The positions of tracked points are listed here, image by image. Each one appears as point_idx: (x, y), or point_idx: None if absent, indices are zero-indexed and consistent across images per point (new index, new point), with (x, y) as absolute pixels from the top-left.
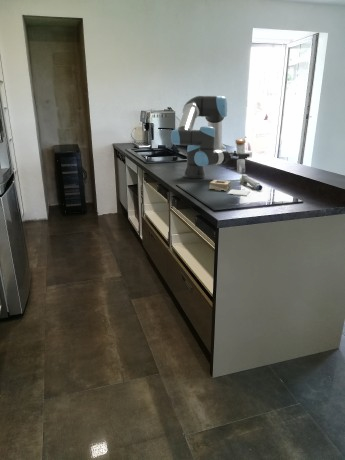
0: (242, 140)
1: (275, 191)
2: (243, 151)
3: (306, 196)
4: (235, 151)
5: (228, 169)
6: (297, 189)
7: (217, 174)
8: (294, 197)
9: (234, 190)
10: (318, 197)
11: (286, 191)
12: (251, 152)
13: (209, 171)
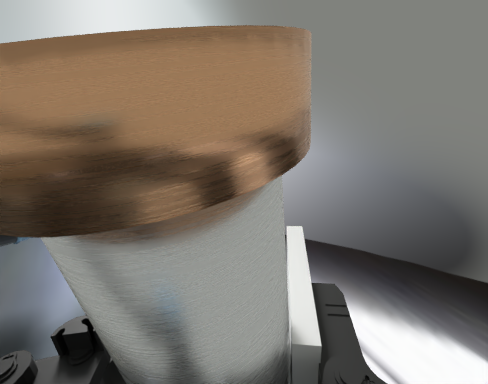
0: (290, 29)
1: None
2: (288, 322)
3: (462, 302)
4: (89, 340)
5: None
6: (344, 251)
7: (44, 255)
8: (482, 352)
9: None
10: (485, 286)
11: (356, 289)
12: (302, 232)
13: None
